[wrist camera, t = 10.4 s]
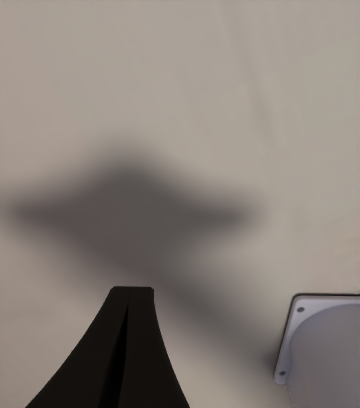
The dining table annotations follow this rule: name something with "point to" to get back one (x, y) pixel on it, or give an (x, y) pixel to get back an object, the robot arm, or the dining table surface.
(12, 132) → the dining table surface
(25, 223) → the dining table surface
